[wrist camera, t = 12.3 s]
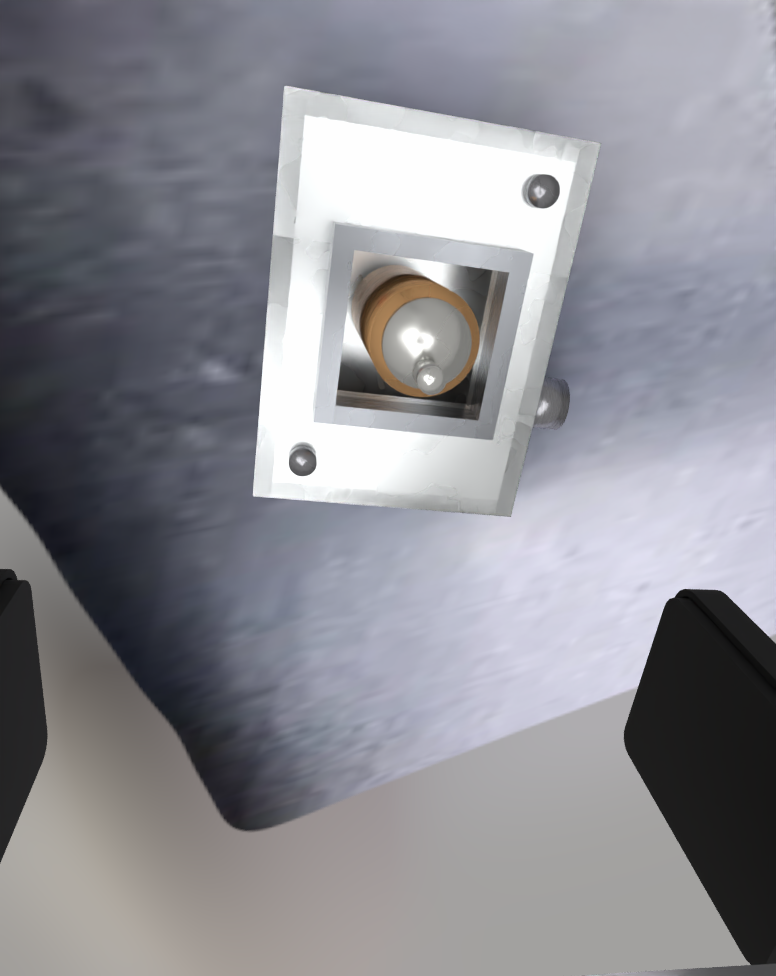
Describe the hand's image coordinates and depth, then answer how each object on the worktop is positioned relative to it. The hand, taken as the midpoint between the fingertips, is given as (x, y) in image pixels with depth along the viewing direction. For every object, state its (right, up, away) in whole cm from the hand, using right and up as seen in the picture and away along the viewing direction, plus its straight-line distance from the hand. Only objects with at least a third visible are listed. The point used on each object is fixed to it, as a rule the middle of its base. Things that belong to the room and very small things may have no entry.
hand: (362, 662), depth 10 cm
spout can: (+1, +11, +22) cm, 25 cm away
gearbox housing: (+1, +11, +23) cm, 25 cm away
